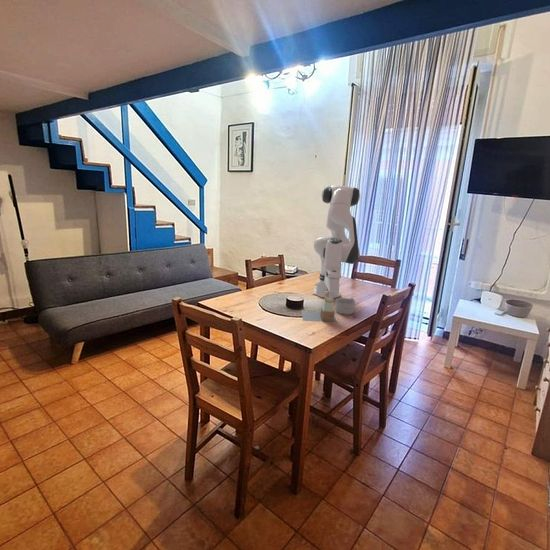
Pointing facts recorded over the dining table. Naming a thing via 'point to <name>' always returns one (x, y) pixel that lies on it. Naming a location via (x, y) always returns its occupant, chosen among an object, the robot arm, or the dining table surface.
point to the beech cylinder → (328, 297)
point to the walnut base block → (327, 315)
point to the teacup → (345, 306)
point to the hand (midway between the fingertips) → (329, 296)
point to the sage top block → (328, 306)
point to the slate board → (313, 316)
